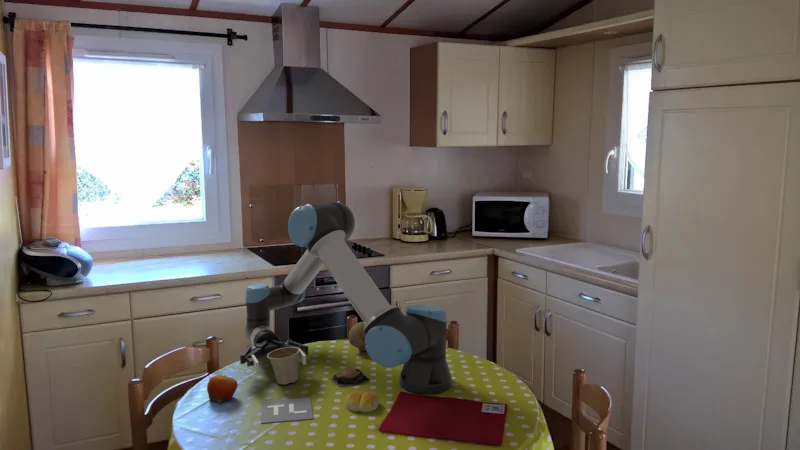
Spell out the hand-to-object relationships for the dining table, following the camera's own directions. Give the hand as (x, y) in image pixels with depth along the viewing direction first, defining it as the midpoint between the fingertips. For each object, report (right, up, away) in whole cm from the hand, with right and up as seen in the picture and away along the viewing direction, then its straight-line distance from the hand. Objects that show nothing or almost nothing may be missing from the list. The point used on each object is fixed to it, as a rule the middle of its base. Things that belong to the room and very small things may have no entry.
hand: (281, 363), depth 174 cm
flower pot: (+1, -6, +6) cm, 9 cm away
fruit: (-15, -9, -6) cm, 18 cm away
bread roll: (+24, -9, -10) cm, 27 cm away
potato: (+21, -3, +32) cm, 38 cm away
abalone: (+19, -7, +8) cm, 22 cm away
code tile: (+4, -9, -13) cm, 16 cm away
